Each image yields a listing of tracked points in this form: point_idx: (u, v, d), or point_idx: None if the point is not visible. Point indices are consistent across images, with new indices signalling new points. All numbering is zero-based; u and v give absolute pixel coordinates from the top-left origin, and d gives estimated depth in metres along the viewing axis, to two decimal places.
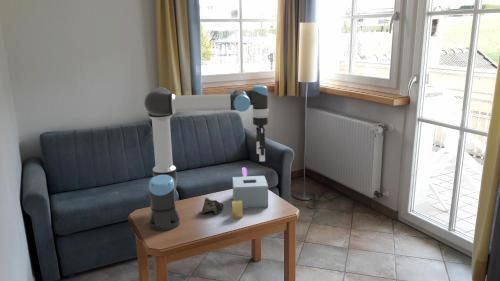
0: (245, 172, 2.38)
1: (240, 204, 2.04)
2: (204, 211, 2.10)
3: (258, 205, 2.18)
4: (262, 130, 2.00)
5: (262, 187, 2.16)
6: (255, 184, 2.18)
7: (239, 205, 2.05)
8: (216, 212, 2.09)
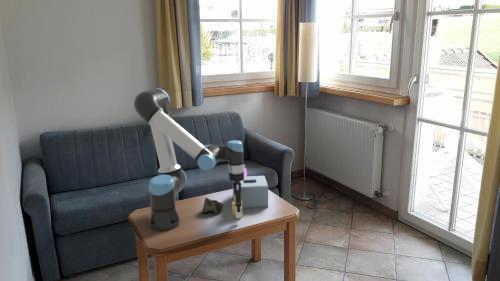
0: (245, 172, 2.38)
1: None
2: (204, 211, 2.10)
3: (258, 205, 2.18)
4: (237, 187, 1.96)
5: (262, 187, 2.16)
6: (255, 184, 2.18)
7: None
8: (216, 212, 2.10)
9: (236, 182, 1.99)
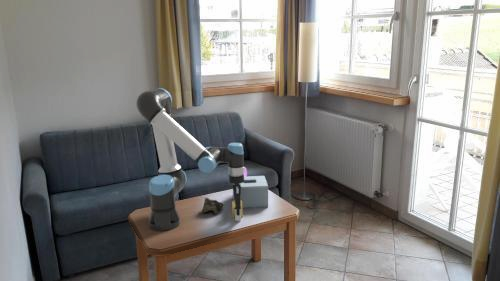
0: (245, 172, 2.38)
1: None
2: (204, 211, 2.11)
3: (258, 205, 2.18)
4: (237, 190, 1.97)
5: (262, 187, 2.16)
6: (255, 184, 2.18)
7: None
8: (216, 212, 2.10)
9: (236, 184, 1.99)
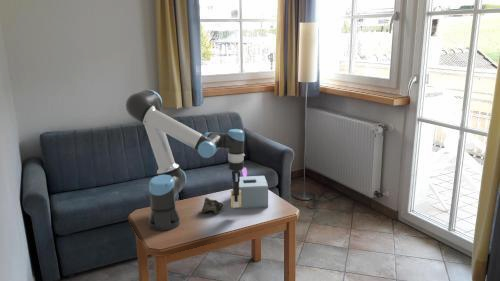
0: (245, 172, 2.38)
1: (239, 193, 2.03)
2: (204, 211, 2.11)
3: (258, 205, 2.18)
4: (236, 179, 1.96)
5: (262, 187, 2.16)
6: (255, 184, 2.18)
7: None
8: (216, 212, 2.10)
9: (235, 171, 1.98)
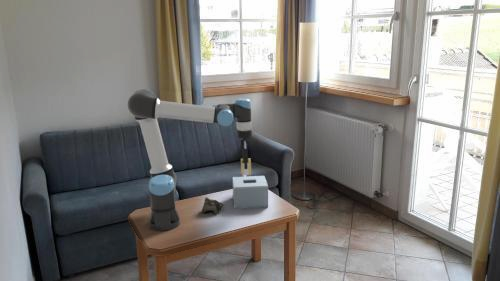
0: None
1: (249, 161, 2.10)
2: (204, 210, 2.11)
3: (258, 205, 2.18)
4: (245, 146, 2.03)
5: (262, 187, 2.16)
6: (255, 184, 2.18)
7: (248, 162, 2.10)
8: (216, 212, 2.10)
9: (244, 139, 2.05)
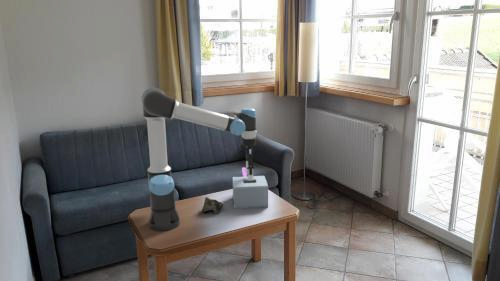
0: (245, 172, 2.38)
1: None
2: (204, 210, 2.11)
3: (258, 205, 2.18)
4: (250, 151, 2.11)
5: (262, 187, 2.16)
6: (255, 184, 2.18)
7: None
8: (216, 211, 2.10)
9: (249, 147, 2.14)
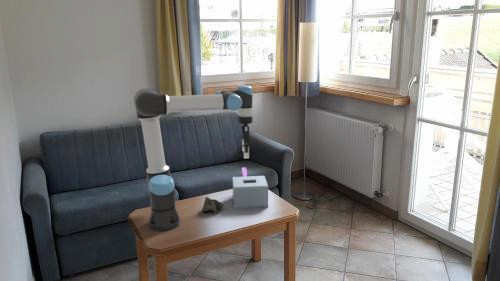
0: (245, 172, 2.38)
1: None
2: (204, 210, 2.12)
3: (258, 205, 2.18)
4: (246, 128, 2.08)
5: (262, 187, 2.16)
6: (255, 184, 2.18)
7: None
8: (216, 211, 2.10)
9: (245, 124, 2.11)
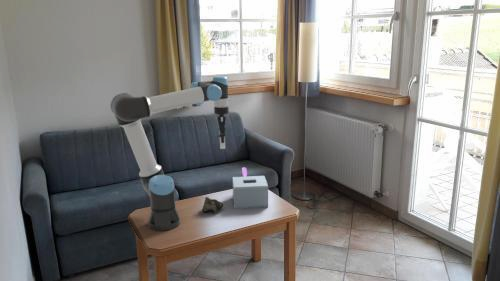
0: (245, 172, 2.38)
1: None
2: (204, 210, 2.12)
3: (258, 205, 2.18)
4: (222, 118, 2.10)
5: (262, 187, 2.16)
6: (255, 184, 2.18)
7: None
8: (215, 211, 2.11)
9: (221, 115, 2.12)
